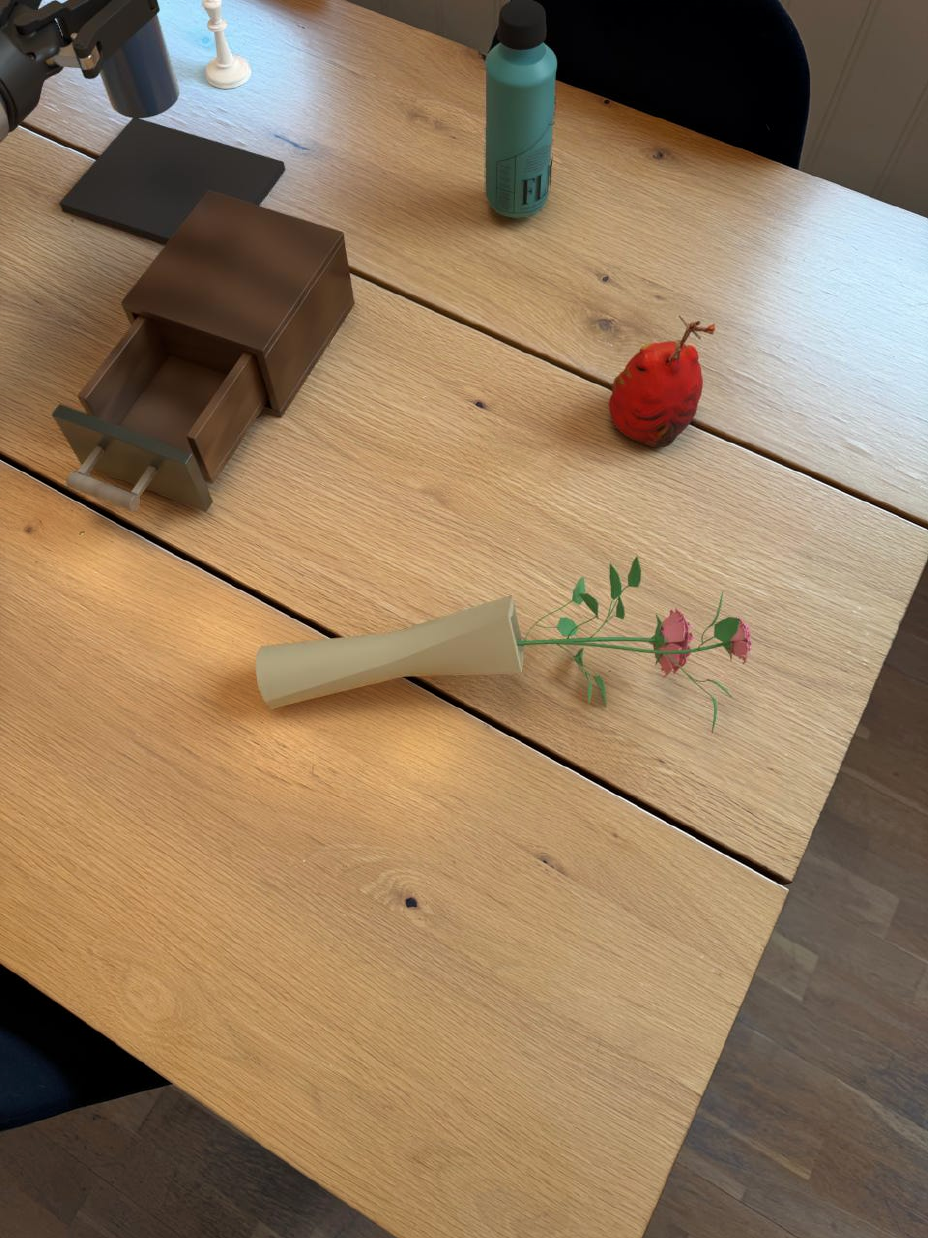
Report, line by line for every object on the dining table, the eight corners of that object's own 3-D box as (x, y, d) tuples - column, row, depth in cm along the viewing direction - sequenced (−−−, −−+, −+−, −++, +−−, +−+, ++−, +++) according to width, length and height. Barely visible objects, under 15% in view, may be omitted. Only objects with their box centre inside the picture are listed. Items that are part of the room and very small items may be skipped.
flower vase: (317, 686, 86) (735, 614, 80) (301, 808, 78) (768, 738, 72) (263, 590, 78) (724, 501, 72) (239, 714, 70) (760, 626, 63)
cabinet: (281, 417, 90) (262, 351, 82) (150, 371, 93) (120, 302, 85) (354, 303, 96) (343, 231, 88) (229, 263, 99) (208, 189, 91)
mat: (62, 210, 102) (58, 202, 101) (136, 124, 108) (133, 116, 107) (217, 261, 99) (215, 253, 98) (285, 169, 105) (284, 161, 104)
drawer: (180, 552, 83) (156, 506, 77) (53, 502, 85) (20, 453, 79) (283, 394, 90) (268, 340, 84) (163, 352, 93) (141, 297, 86)
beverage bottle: (519, 241, 99) (528, 45, 82) (469, 209, 101) (466, 12, 84) (562, 206, 101) (579, 8, 84) (512, 175, 104) (519, -24, 86)
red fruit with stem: (675, 381, 91) (709, 252, 78) (706, 442, 88) (747, 318, 75) (596, 402, 90) (615, 275, 77) (624, 464, 87) (649, 343, 74)
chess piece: (233, 53, 113) (212, -39, 104) (260, 74, 111) (241, -18, 103) (197, 73, 112) (172, -19, 103) (224, 95, 110) (201, 3, 101)
